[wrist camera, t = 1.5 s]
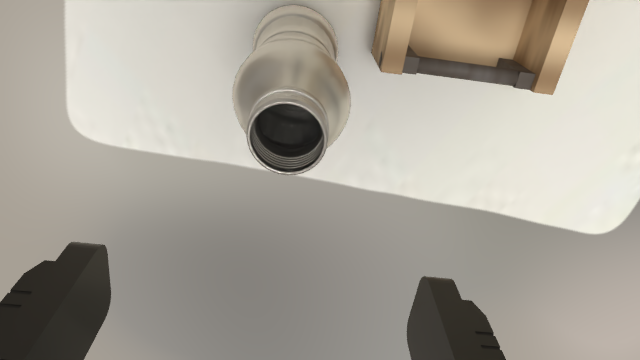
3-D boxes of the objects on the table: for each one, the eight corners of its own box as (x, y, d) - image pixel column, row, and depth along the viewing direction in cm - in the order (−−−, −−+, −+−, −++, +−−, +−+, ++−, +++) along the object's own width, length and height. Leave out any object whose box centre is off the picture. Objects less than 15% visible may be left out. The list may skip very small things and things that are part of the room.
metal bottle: (296, -19, 36) (284, 30, 19) (353, 46, 39) (390, 144, 21) (239, 39, 38) (180, 133, 21) (297, 98, 41) (288, 226, 23)
